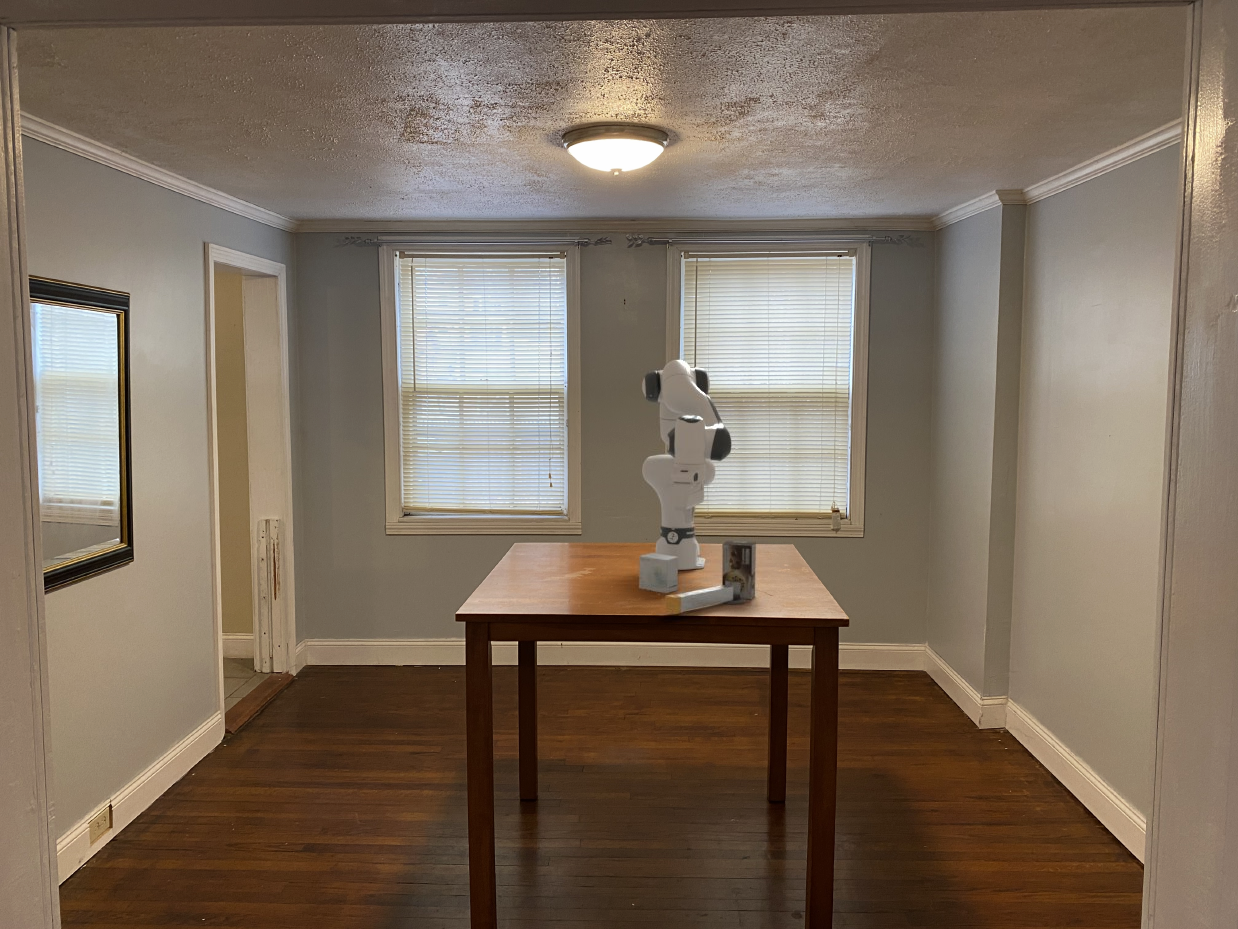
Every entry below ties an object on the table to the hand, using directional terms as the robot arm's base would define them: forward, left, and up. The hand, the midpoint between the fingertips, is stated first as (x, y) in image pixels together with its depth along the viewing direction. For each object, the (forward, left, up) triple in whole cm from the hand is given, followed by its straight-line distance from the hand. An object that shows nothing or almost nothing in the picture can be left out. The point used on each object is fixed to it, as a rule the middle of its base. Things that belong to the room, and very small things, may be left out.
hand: (689, 522), depth 250 cm
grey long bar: (+1, +5, -23) cm, 24 cm away
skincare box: (-17, -14, -24) cm, 33 cm away
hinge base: (-9, +11, -24) cm, 28 cm away
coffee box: (-17, +11, -24) cm, 31 cm away
